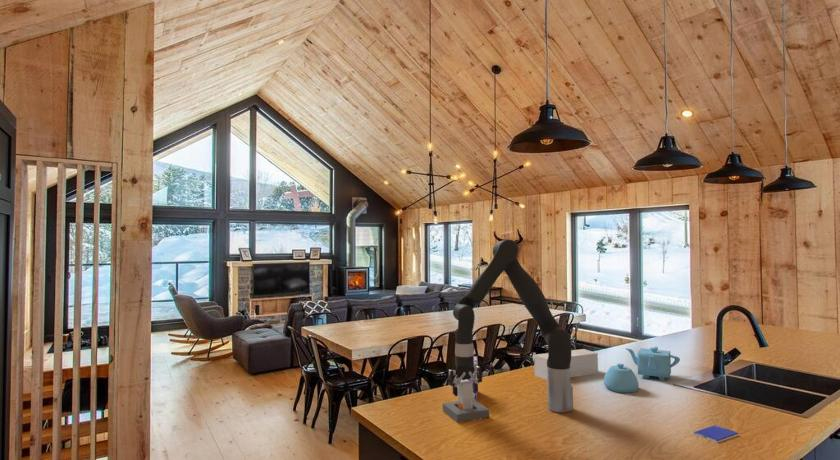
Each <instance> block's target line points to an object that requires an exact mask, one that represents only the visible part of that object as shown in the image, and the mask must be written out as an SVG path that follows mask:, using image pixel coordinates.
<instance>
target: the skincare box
mask: <svg viewBox="0 0 840 460" xmlns="http://www.w3.org/2000/svg"><path fill="white" fill-rule="evenodd" d="M457 387H458V396H457V401H458V408H459V409H460V410H461V411H464V410H471V409H473V401H472V383H471V382H470V381H469V380H467V379H466V380H461V382H460V383H459V384H458V386H457Z"/></svg>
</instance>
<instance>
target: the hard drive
mask: <svg viewBox="0 0 840 460" xmlns="http://www.w3.org/2000/svg"><path fill="white" fill-rule="evenodd" d="M693 435H694V436H697V437H699V438H703V439H706V440H708V441H711V442H714V443H716V444H718V443H721V442H724V441H726V440H730V439H732V438H735V437H738V436H739V433H738V432H737V431H734V430H732V429H729V428H726V427H722V426H719V425H717V424H715V425H710V426H708V427H705V428H702V429H698V430H696V431H693Z"/></svg>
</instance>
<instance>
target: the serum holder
mask: <svg viewBox="0 0 840 460" xmlns="http://www.w3.org/2000/svg"><path fill="white" fill-rule="evenodd" d="M472 401H473V409H471V410H464V411H461V410H460V409H459V408H458V400H456V401H450V402H449V401H448V402H442V411H443V412H444V413H445V414H446V415H447V414H448V416H449V418H451V419H452V420H453V421H454V422H456V423H464V422H469V421H468V420H470V421H475V420H474V419H476V420H481V419H480V418H482V419H487V418H486V417H489V418H490V409H489V408H487V406H484V405H483V404H482V403H480V402H478V401H477V399H476V400H474V399H472ZM463 421H464V422H463Z"/></svg>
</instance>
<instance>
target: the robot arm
mask: <svg viewBox="0 0 840 460" xmlns="http://www.w3.org/2000/svg"><path fill="white" fill-rule="evenodd" d="M492 254H493V255H492V256H493V257H492V260H491V261H490V262H489V264H488V265H487V266H486V268H485V269H484V270H483V271H482V272H481V273H480V274H479V276H477V278H476V279H475V280H474V282H473V283H472V285H471V286H470V288H469V289H468V290H467V292H466V293H465V295H464V296H462V297H461V299H459V301H458V302H457V303H456V304H455V306H454V308H453V310H452V311H453V312H452V314H453V315H452V316H453V318H454V319H455V320H457V328H456V330H455V337H454V338H455V346H454V347H455V348H454V354H455V355H454V358H455V368H454V369H448V370H447V371H448V372H447V384H448V385H449V386H450V387H451V388H452V395H454V397H458V384H459V383H460V382H461V380H466V379H471V380H472V381H473V393H475V394H476V393H477V392H478V393H479V384H480V383H482V382H483V374H482V367H480V366H476V367H474V356H475V353H474V352H475V351H474V339H473V338H474V334H473V331H474V326H475V319H476V318H475V311H474V308H475V307H476V306H477V305H480V304H481V303H483V301H484V299H485V298H486V296H487V295H488V294H489V292H490V290H491V288H492V287H493V286H494V284H495V282H497V279H498V278H499V277H500V276H501V274H502V273H503V272H504V273H505V274H506V276H507V278H508V279H509V281H510V283H511V284H512V287H513V288H514V290H515V292H516V294H517V295H518V297H519V298H520V301H521V303H522V304H523V306H524V308H526V310H527V312H528V313H529V314H530V315H531V317H532V318H533V319H534V321H535V322H536V324H537V326H538V329H539V330H540V332H541V334H542V337H543V339H544V341H545V343H546V345H547V347H548V350H547V353H548V359H547V380H546V381H547V382H546V385H547V386H546V387H547V388H546V389H547V409H548V410H549V411H551V412H555V413H560V414H561V413H569V412H571V411H573V410H574V390H573V389H574V386H573V385H572V382H571V377H570V362H571V350H572V338H571V335H570V333H569V332H568V331H566V330H565V329H564V328H563V327H561V325H560V324H559V323H558V321H557V320H556V319H555V317H554V315H553V314H552V312H551V310H550V306H549V303H548V301H547V299H546V297H545V294H544V292H543V291H542V289H541V287H540V286H539V284H538V283H537V282H536V280H535V279H534V278H533V277H532V276H531V275H530V274H529V273H528V272H527V271H526V270H525V269H524V268H523V266H522V265H521V264H520V262H519V260H518V254H519V246H518V244H517V242H515V241H513V240H512V239H503V240H500V241H498V242H495V244H494V245H493V247H492ZM474 372H476V375H477V379H476V378H475V377H474V375H473V373H474ZM454 376H455V377H454Z"/></svg>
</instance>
